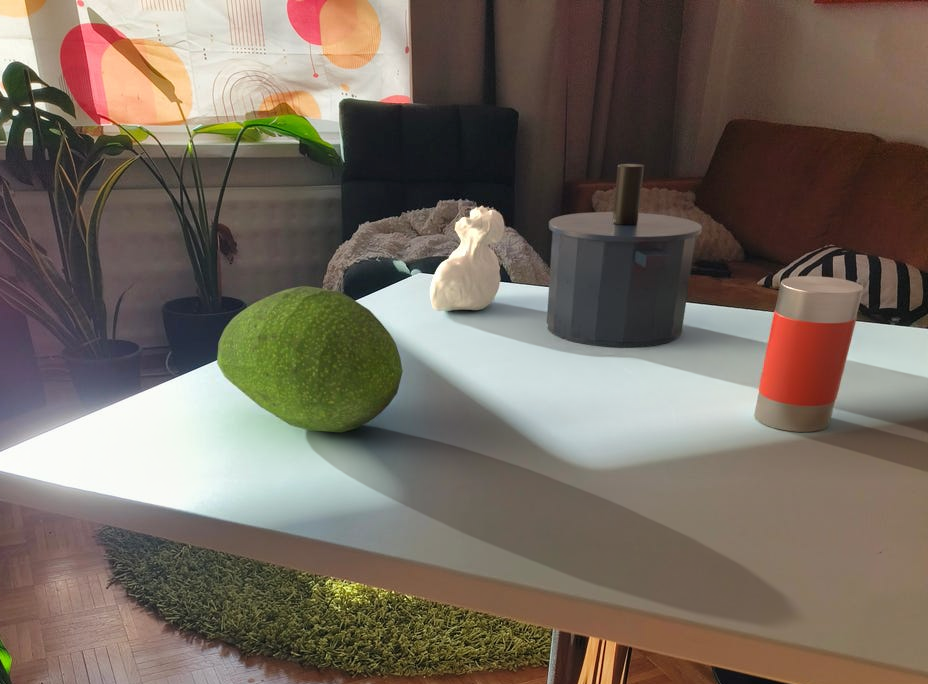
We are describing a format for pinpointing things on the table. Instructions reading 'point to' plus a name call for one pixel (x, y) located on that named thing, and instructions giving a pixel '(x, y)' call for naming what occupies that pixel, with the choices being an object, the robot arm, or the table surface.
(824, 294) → the can
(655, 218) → the lid
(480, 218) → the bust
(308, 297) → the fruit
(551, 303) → the pot
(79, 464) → the table surface
